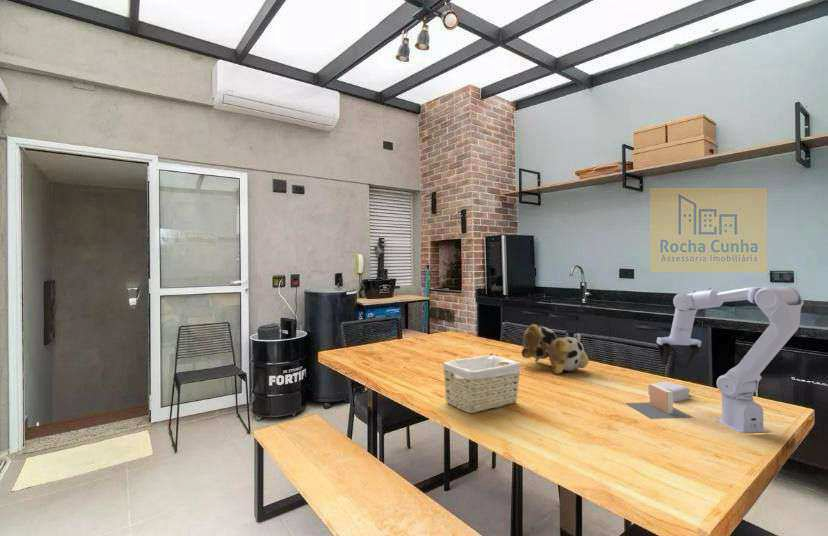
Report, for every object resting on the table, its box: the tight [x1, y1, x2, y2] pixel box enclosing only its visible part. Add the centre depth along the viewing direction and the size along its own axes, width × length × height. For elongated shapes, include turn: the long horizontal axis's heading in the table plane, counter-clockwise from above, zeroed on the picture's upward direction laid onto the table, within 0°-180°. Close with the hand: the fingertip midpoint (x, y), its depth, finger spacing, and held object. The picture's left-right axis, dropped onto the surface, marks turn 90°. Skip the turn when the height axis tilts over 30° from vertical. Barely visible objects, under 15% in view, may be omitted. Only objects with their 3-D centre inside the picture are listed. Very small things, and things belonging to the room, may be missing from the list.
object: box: [442, 354, 522, 414], centre depth 141 cm, size 24×16×15 cm
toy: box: [521, 323, 590, 375], centre depth 187 cm, size 22×34×20 cm
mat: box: [624, 401, 694, 420], centre depth 132 cm, size 14×14×1 cm
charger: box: [647, 381, 691, 403], centre depth 146 cm, size 5×9×15 cm
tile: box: [649, 383, 674, 414], centre depth 133 cm, size 9×2×7 cm, turn 3°
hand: (674, 364), depth 138 cm, fingers open, 7 cm apart
